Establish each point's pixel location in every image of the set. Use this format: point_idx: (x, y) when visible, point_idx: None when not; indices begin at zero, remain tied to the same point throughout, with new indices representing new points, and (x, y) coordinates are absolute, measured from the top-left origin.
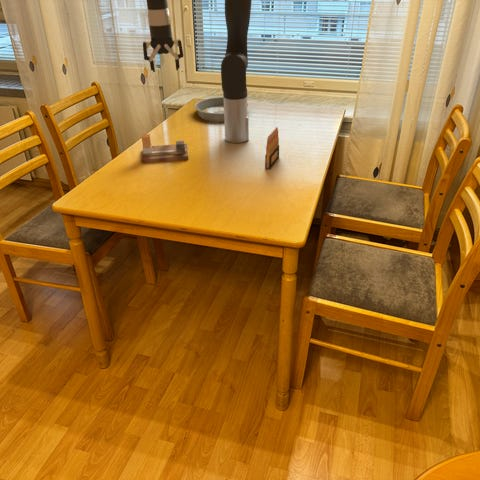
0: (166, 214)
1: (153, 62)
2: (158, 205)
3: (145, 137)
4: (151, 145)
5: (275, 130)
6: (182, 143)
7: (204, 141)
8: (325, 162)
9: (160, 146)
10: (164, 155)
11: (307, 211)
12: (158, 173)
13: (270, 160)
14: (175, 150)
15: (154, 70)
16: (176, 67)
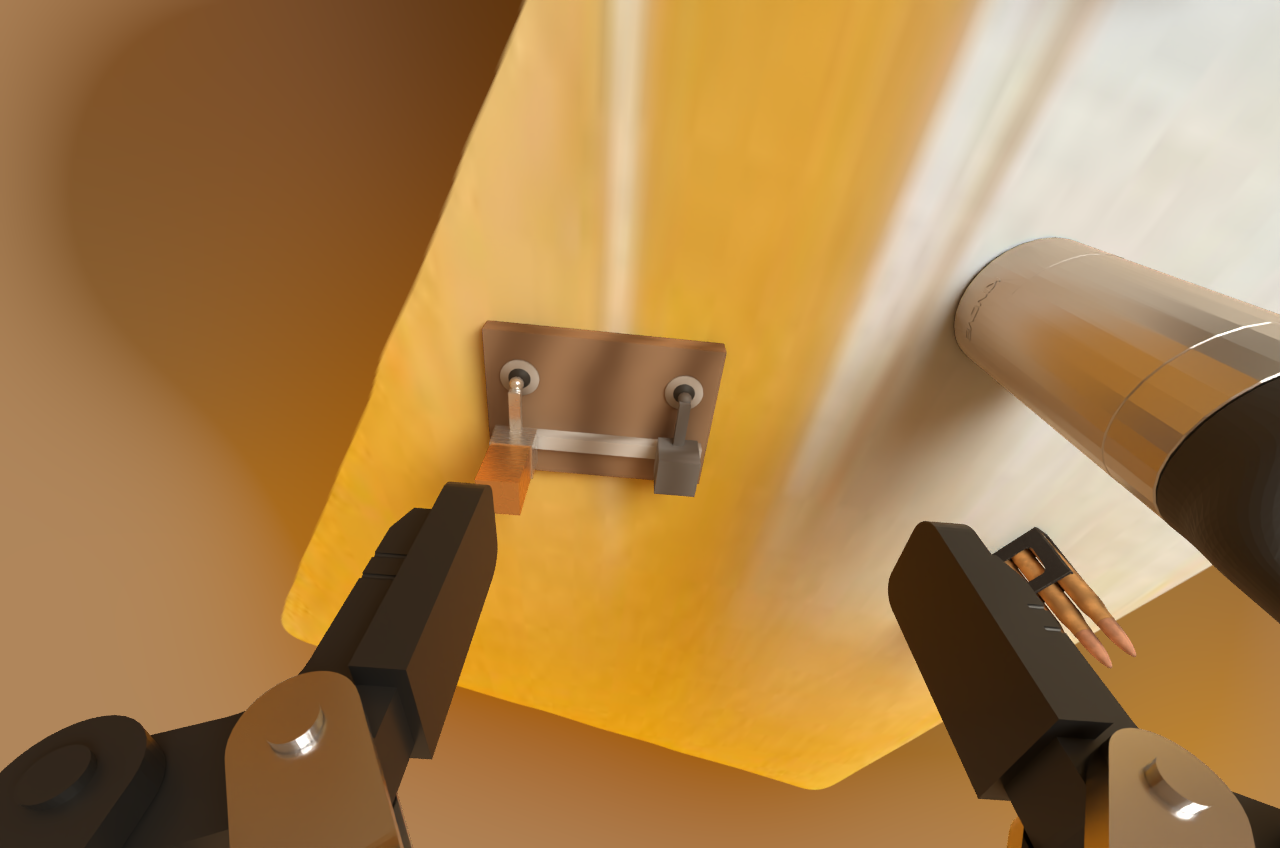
0: (586, 704)
1: (434, 737)
2: (567, 676)
3: (498, 513)
4: (532, 452)
5: (1104, 663)
6: (687, 490)
7: (838, 288)
8: (1158, 595)
9: (579, 351)
10: (596, 455)
11: (895, 744)
12: (568, 541)
13: None
14: (650, 450)
15: (486, 585)
16: (915, 636)
